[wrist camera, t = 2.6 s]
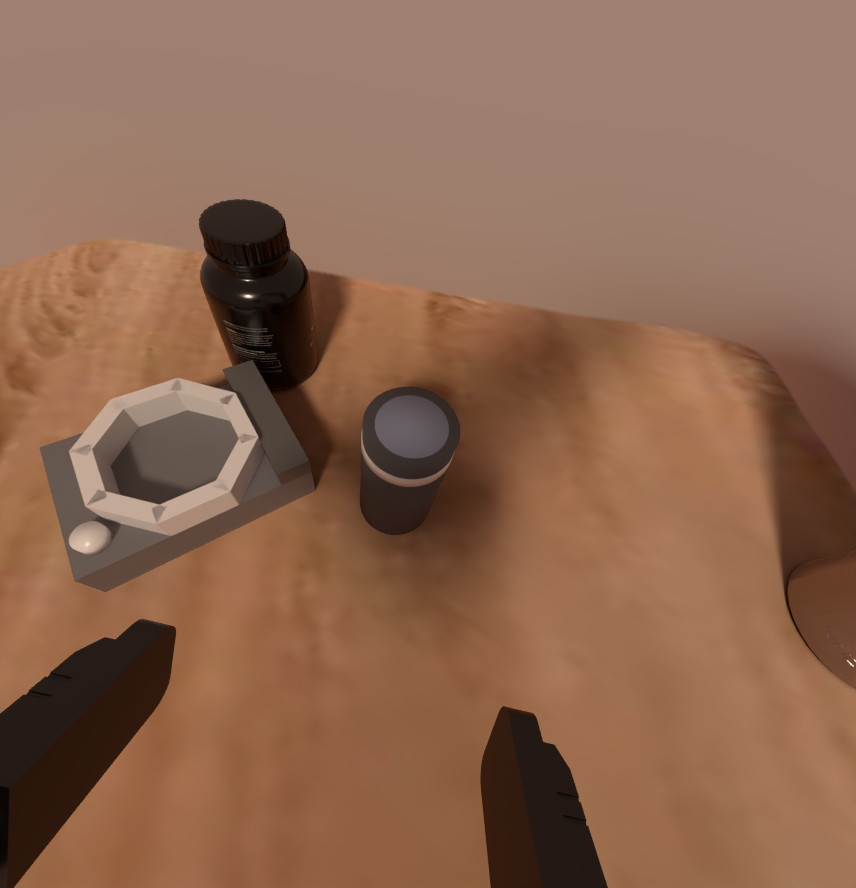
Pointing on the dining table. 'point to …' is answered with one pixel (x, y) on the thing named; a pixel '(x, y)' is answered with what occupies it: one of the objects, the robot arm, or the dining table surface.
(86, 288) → the dining table surface
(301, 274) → the supplement bottle
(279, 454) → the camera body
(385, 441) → the lens
